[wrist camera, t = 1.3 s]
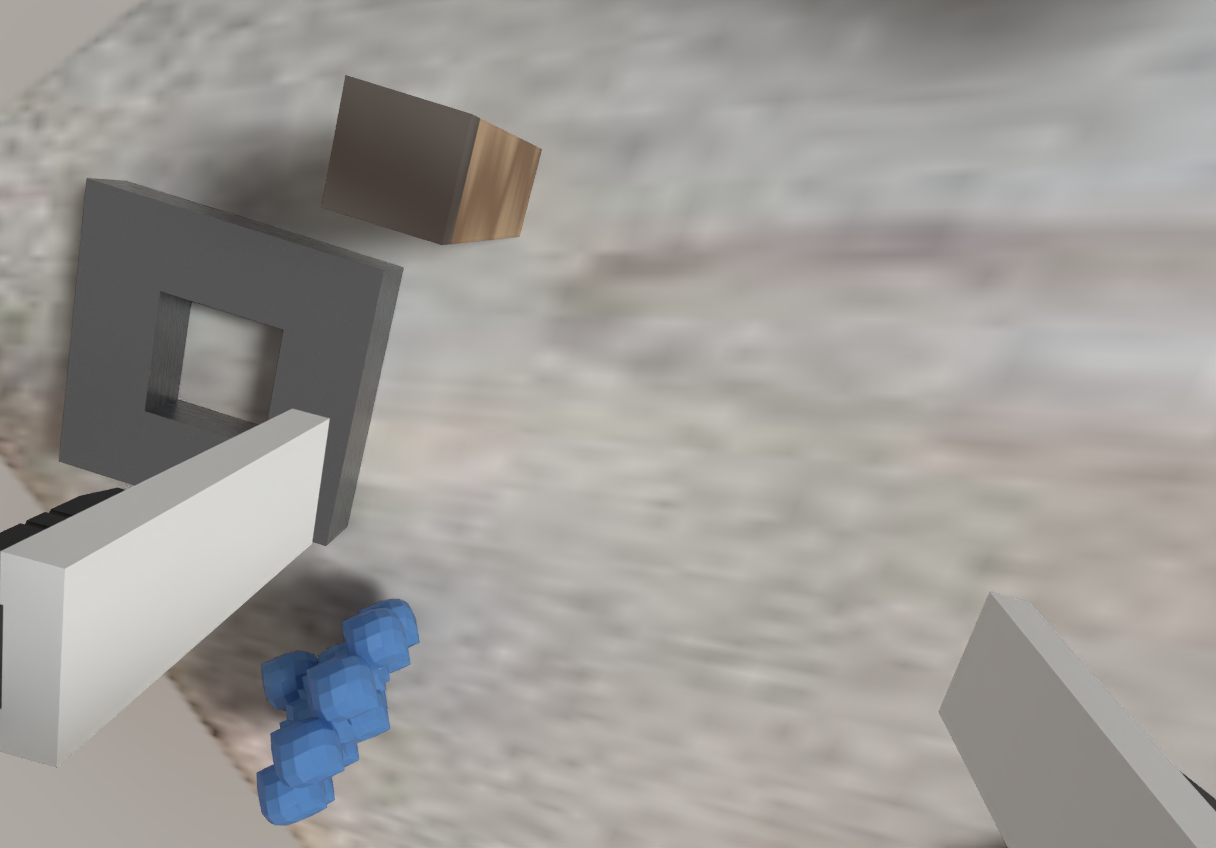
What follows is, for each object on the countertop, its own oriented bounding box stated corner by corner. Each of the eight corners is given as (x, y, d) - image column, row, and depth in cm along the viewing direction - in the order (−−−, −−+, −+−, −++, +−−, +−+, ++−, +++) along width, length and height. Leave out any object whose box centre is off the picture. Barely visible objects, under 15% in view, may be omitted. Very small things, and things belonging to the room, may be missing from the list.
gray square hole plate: (125, 180, 37) (86, 178, 34) (403, 267, 36) (383, 270, 34) (95, 446, 40) (58, 461, 38) (347, 526, 40) (326, 546, 38)
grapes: (358, 515, 40) (228, 634, 29) (473, 574, 40) (390, 716, 29) (282, 683, 43) (137, 852, 32) (389, 737, 44) (284, 923, 32)
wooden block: (457, 123, 35) (345, 74, 23) (541, 149, 35) (471, 114, 23) (437, 211, 36) (321, 207, 24) (519, 236, 36) (441, 245, 24)
